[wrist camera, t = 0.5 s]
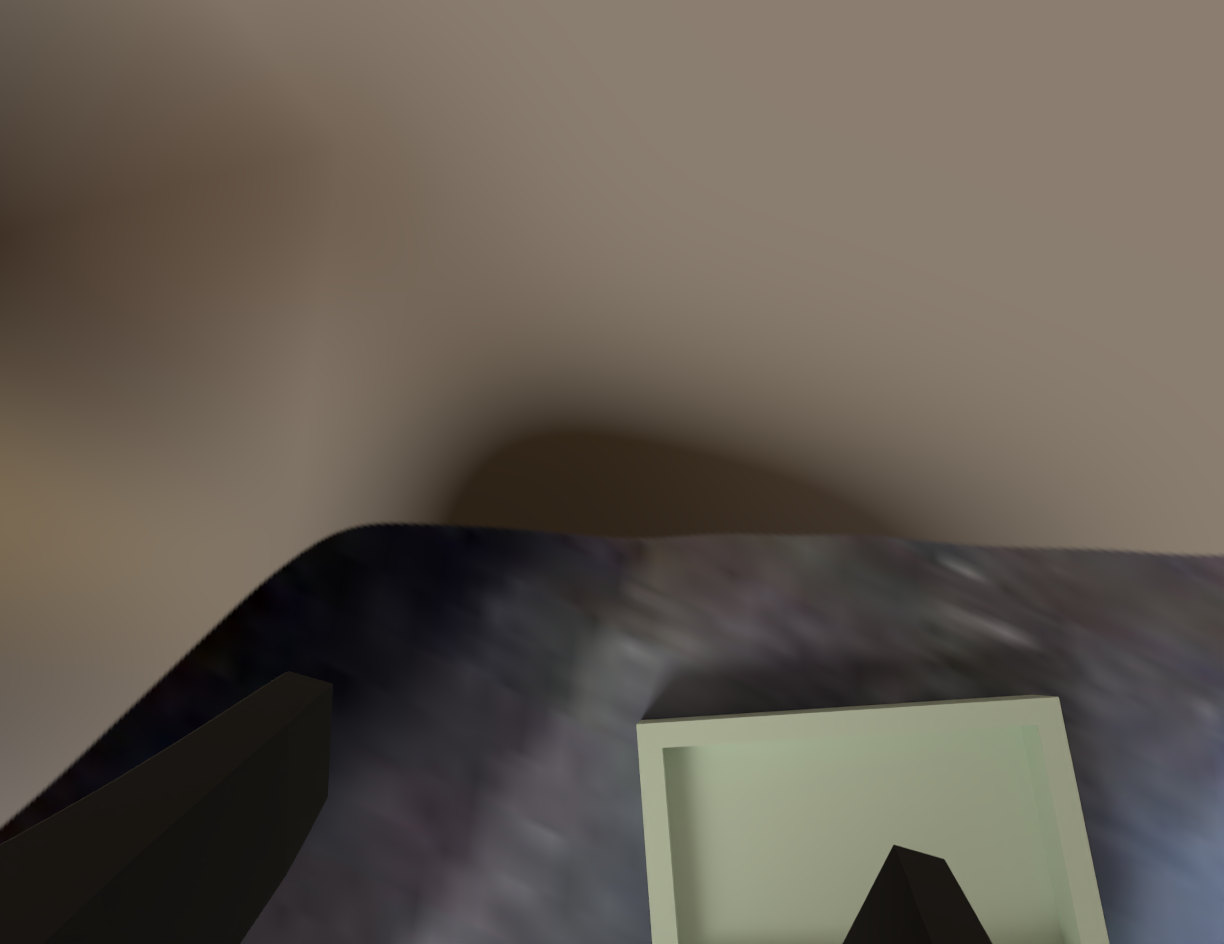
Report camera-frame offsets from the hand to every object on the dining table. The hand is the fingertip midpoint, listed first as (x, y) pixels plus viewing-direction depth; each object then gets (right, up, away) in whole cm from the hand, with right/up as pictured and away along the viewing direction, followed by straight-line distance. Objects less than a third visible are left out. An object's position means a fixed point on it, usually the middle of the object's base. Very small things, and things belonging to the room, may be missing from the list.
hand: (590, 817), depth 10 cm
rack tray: (+10, -11, +23) cm, 27 cm away
